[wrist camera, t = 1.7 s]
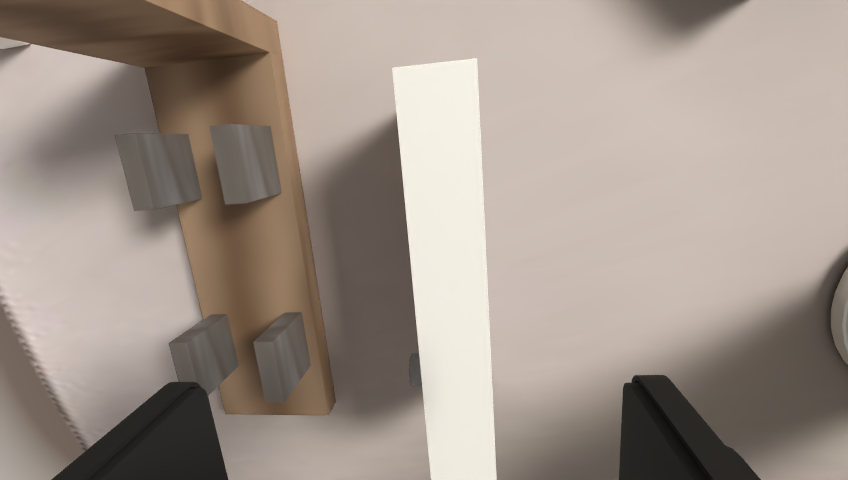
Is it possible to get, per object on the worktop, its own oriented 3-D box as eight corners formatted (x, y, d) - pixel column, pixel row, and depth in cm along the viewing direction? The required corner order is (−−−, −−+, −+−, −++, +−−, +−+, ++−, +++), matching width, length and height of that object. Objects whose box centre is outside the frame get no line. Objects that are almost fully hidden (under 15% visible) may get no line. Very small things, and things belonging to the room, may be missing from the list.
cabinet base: (276, 21, 24) (15, -133, 10) (335, 402, 30) (221, 619, 16) (155, 37, 25) (-224, -83, 11) (236, 401, 31) (54, 604, 17)
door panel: (475, 90, 23) (476, 58, 14) (488, 364, 28) (496, 484, 18) (408, 97, 24) (364, 70, 14) (431, 364, 28) (410, 481, 19)
